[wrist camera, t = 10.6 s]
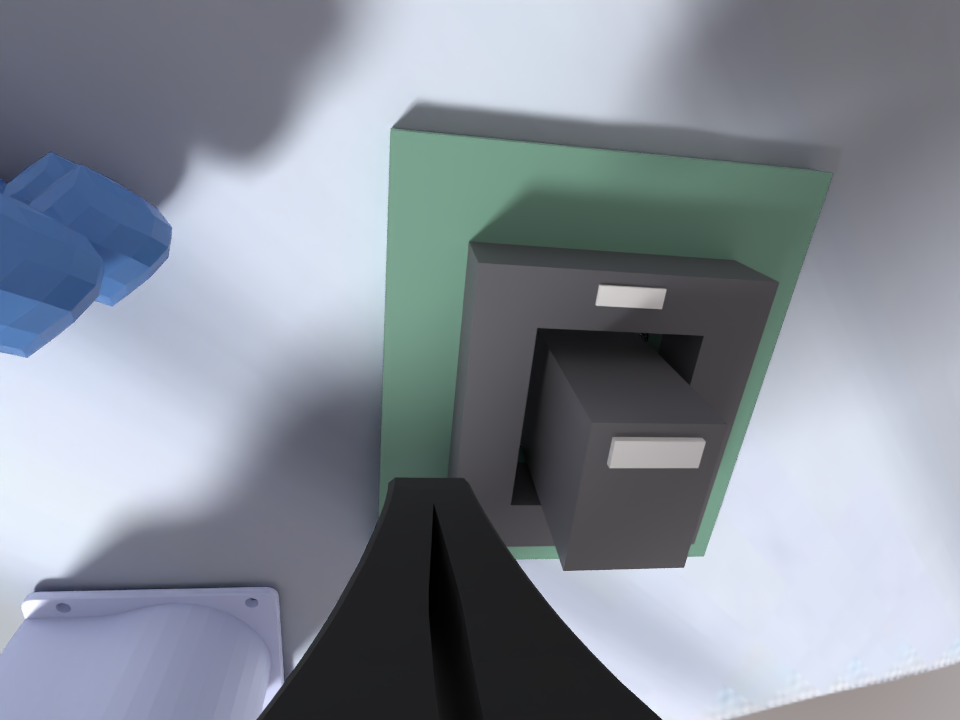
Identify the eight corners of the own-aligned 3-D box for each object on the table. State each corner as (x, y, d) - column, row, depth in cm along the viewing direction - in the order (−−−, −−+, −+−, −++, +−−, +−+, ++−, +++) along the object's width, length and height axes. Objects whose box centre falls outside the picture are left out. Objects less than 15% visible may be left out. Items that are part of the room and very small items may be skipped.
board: (377, 543, 24) (374, 615, 20) (391, 127, 17) (388, 135, 14) (692, 540, 26) (735, 604, 22) (813, 169, 19) (897, 184, 16)
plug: (517, 435, 22) (565, 576, 16) (533, 320, 20) (594, 427, 14) (605, 436, 23) (687, 572, 16) (629, 324, 21) (732, 428, 14)
